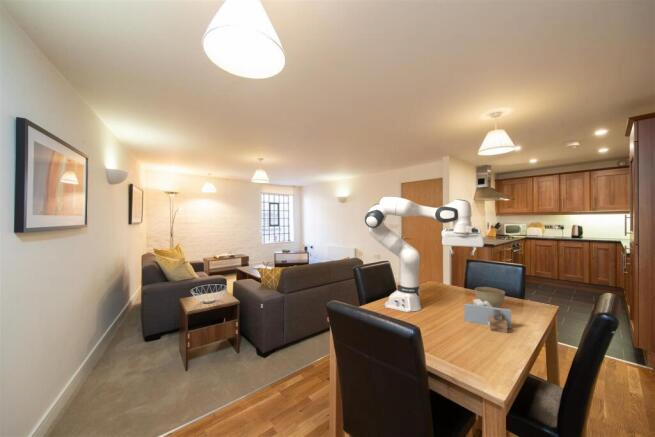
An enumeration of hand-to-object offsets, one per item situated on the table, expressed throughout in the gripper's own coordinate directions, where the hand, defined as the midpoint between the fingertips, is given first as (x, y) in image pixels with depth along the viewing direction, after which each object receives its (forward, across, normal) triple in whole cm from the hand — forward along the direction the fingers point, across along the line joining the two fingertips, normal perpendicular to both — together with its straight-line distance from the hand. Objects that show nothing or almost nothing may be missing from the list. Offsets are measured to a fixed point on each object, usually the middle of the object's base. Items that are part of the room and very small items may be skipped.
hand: (462, 254), depth 140 cm
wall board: (+37, +12, +2) cm, 39 cm away
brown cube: (+37, +16, -2) cm, 40 cm away
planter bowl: (+37, +15, +32) cm, 51 cm away
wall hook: (+37, +12, +16) cm, 42 cm away
